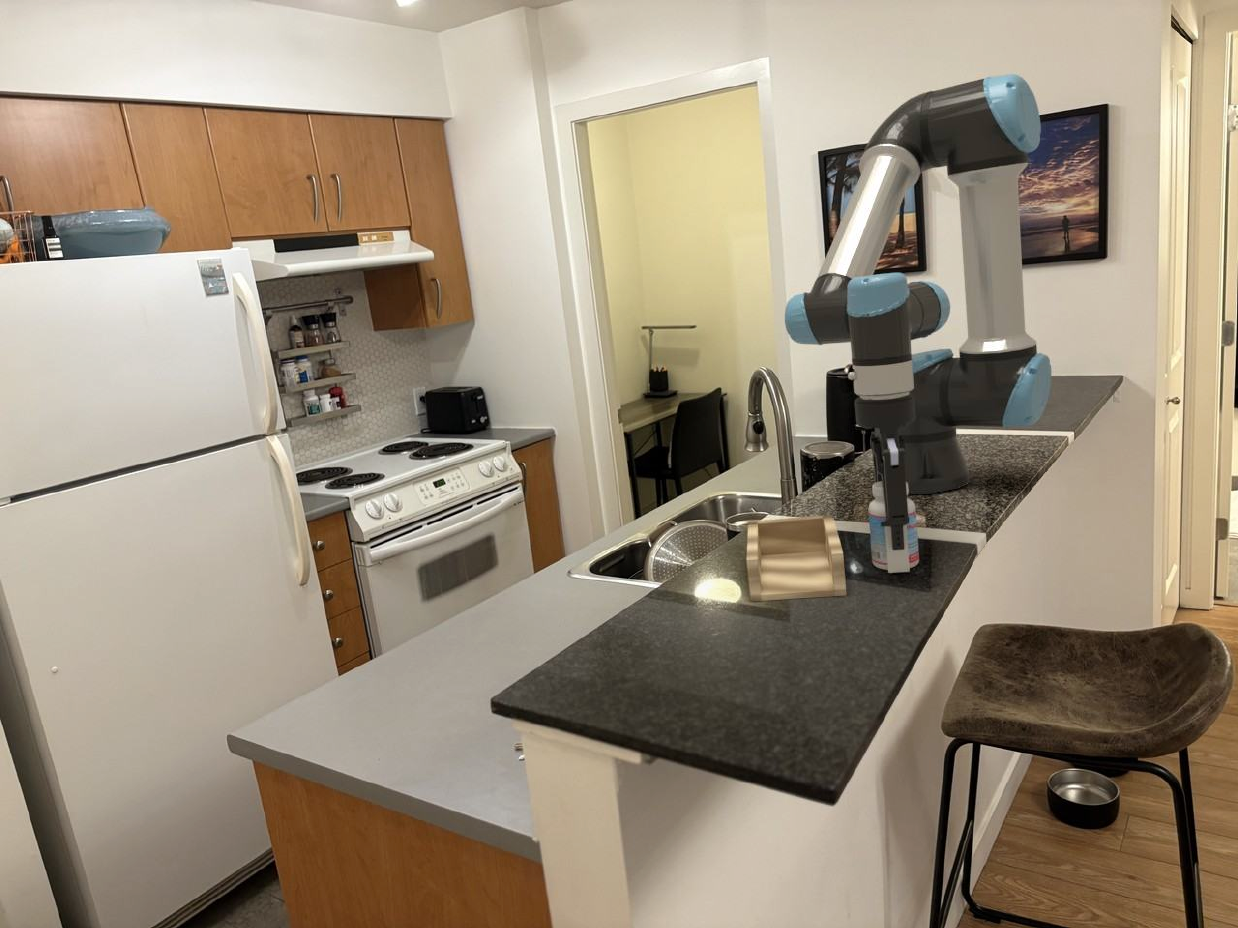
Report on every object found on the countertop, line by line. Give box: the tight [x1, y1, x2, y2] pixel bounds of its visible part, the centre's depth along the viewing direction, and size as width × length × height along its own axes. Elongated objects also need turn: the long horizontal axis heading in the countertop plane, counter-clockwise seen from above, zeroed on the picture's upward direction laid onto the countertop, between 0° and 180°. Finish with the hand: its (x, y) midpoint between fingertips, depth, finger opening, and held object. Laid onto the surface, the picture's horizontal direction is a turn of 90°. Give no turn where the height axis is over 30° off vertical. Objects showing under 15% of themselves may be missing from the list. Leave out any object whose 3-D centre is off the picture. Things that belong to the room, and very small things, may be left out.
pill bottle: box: [868, 481, 920, 571], centre depth 124 cm, size 6×6×11 cm
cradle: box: [746, 514, 847, 602], centre depth 125 cm, size 18×12×6 cm
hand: (894, 562), depth 125 cm, fingers open, 6 cm apart
